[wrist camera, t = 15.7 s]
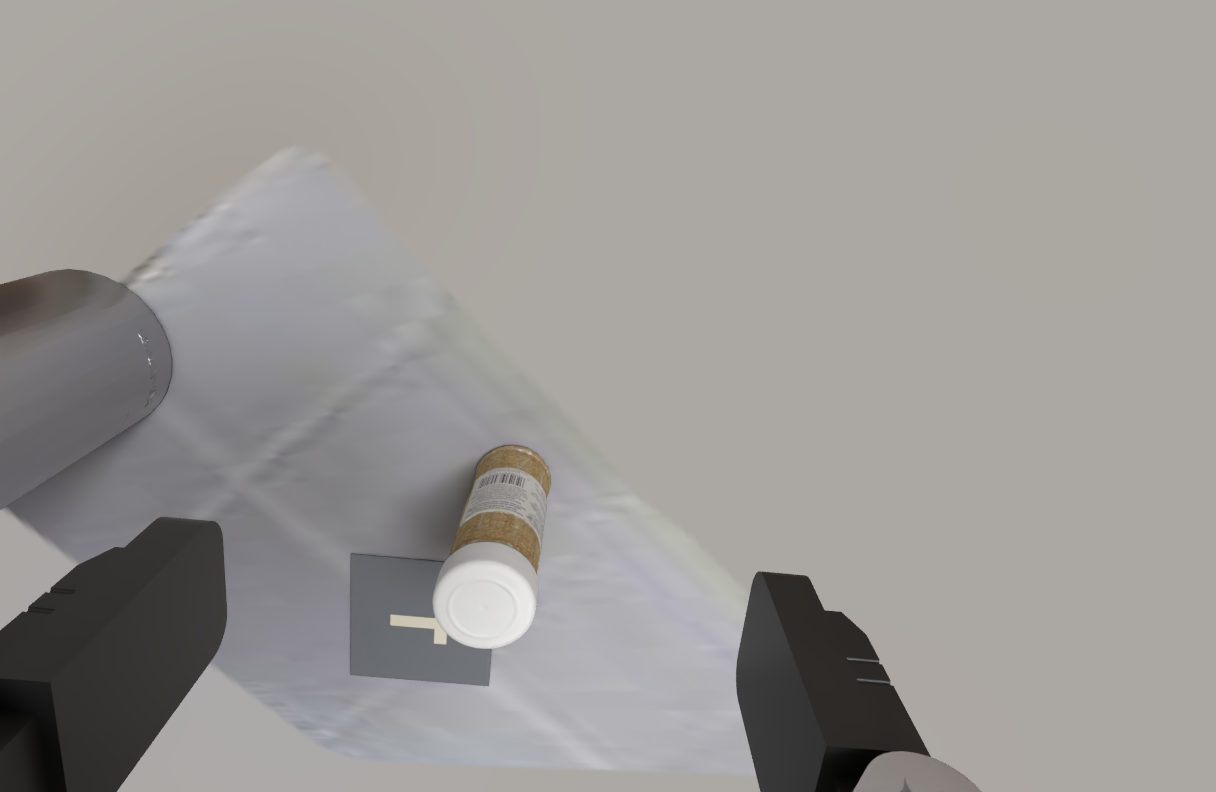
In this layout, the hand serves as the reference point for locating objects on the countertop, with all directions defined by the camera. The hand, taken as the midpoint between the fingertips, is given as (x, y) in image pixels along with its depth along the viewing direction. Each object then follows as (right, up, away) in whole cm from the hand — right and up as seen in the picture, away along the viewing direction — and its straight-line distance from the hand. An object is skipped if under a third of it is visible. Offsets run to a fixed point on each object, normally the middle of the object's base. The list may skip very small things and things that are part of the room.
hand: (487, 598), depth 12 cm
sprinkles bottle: (-4, -2, +35) cm, 35 cm away
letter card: (-10, -11, +38) cm, 41 cm away
